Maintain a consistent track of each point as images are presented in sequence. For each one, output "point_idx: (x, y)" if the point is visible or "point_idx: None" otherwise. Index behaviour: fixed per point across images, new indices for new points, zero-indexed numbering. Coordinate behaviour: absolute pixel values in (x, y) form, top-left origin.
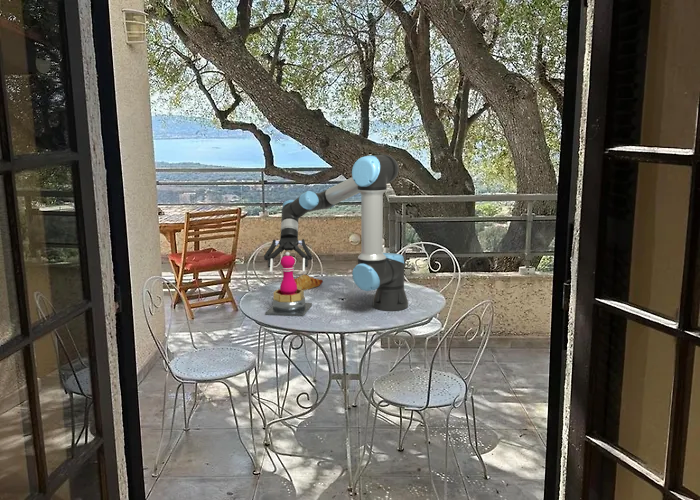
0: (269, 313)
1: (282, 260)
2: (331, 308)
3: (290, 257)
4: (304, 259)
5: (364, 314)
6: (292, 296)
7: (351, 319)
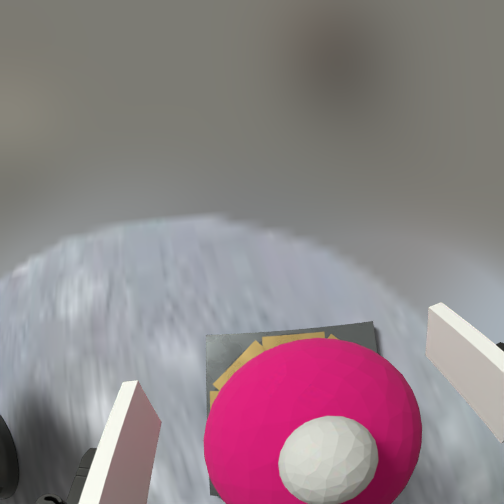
0: (355, 324)
1: (370, 349)
2: None
3: (246, 409)
4: (87, 488)
5: (27, 375)
6: (250, 346)
7: (54, 321)
